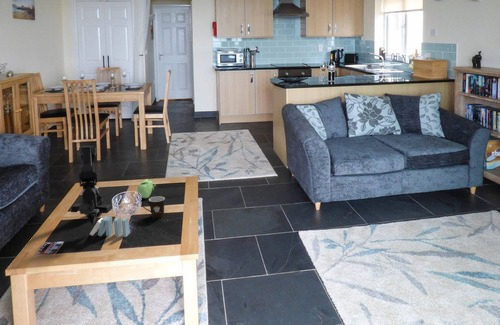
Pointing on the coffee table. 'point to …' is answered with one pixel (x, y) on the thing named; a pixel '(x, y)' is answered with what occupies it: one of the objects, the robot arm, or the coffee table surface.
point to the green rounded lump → (145, 188)
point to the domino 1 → (96, 227)
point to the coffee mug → (156, 206)
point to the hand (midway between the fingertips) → (92, 224)
